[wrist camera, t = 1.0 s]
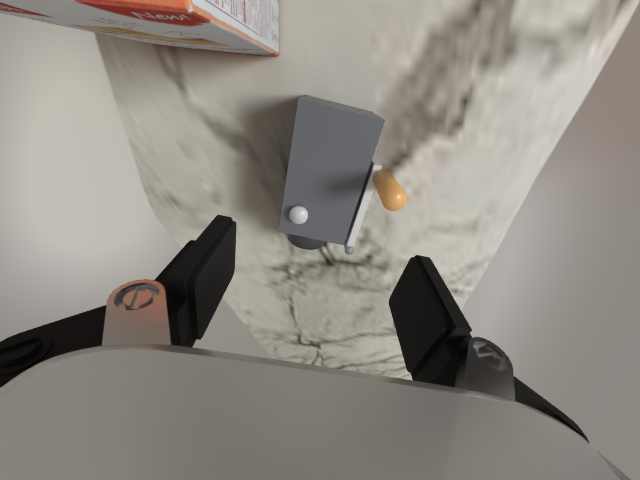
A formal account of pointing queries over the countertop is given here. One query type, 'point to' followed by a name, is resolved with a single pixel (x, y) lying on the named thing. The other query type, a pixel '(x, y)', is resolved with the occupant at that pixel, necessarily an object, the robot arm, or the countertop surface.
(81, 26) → the cracker box
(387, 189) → the grey blade tan handle
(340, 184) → the block
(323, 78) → the countertop surface
